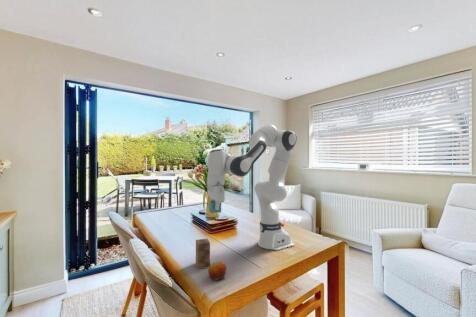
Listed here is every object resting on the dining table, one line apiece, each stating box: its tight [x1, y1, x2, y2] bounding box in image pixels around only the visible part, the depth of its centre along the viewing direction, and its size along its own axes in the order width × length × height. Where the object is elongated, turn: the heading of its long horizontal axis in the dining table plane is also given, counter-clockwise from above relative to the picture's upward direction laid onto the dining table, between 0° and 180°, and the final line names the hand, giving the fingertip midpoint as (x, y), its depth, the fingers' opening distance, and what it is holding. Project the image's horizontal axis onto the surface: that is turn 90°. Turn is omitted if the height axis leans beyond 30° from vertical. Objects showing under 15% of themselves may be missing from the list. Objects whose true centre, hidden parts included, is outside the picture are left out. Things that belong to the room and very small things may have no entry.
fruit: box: [208, 261, 227, 282], centre depth 103 cm, size 8×8×8 cm
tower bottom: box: [195, 252, 211, 270], centre depth 115 cm, size 6×6×6 cm
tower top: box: [195, 238, 211, 256], centre depth 115 cm, size 6×6×6 cm
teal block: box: [208, 200, 222, 214], centre depth 116 cm, size 5×5×5 cm
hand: (215, 208), depth 116 cm, fingers closed on teal block, 5 cm apart
